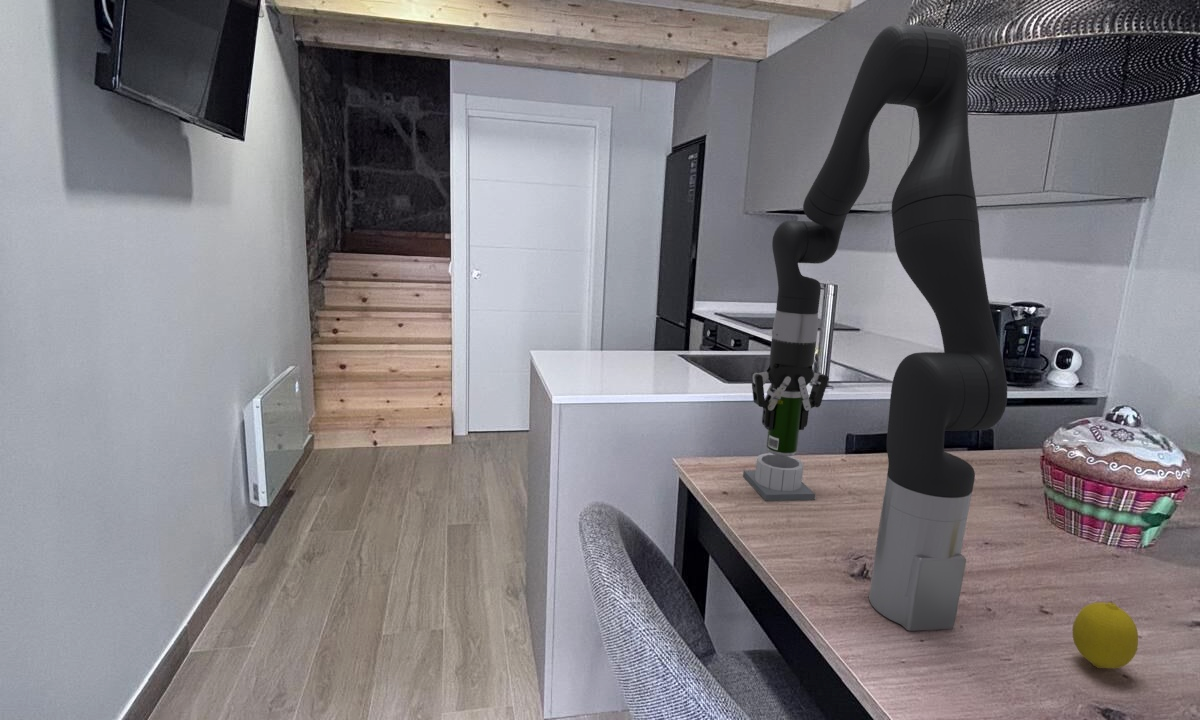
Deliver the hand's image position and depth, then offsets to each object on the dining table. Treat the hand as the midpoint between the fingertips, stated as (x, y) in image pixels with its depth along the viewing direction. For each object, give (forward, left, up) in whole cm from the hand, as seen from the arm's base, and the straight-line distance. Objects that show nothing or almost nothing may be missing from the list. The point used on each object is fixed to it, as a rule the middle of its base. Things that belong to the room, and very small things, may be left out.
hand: (784, 428), depth 111 cm
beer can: (0, 0, -5) cm, 5 cm away
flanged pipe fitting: (0, 0, -12) cm, 12 cm away
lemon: (-49, -16, -12) cm, 53 cm away
